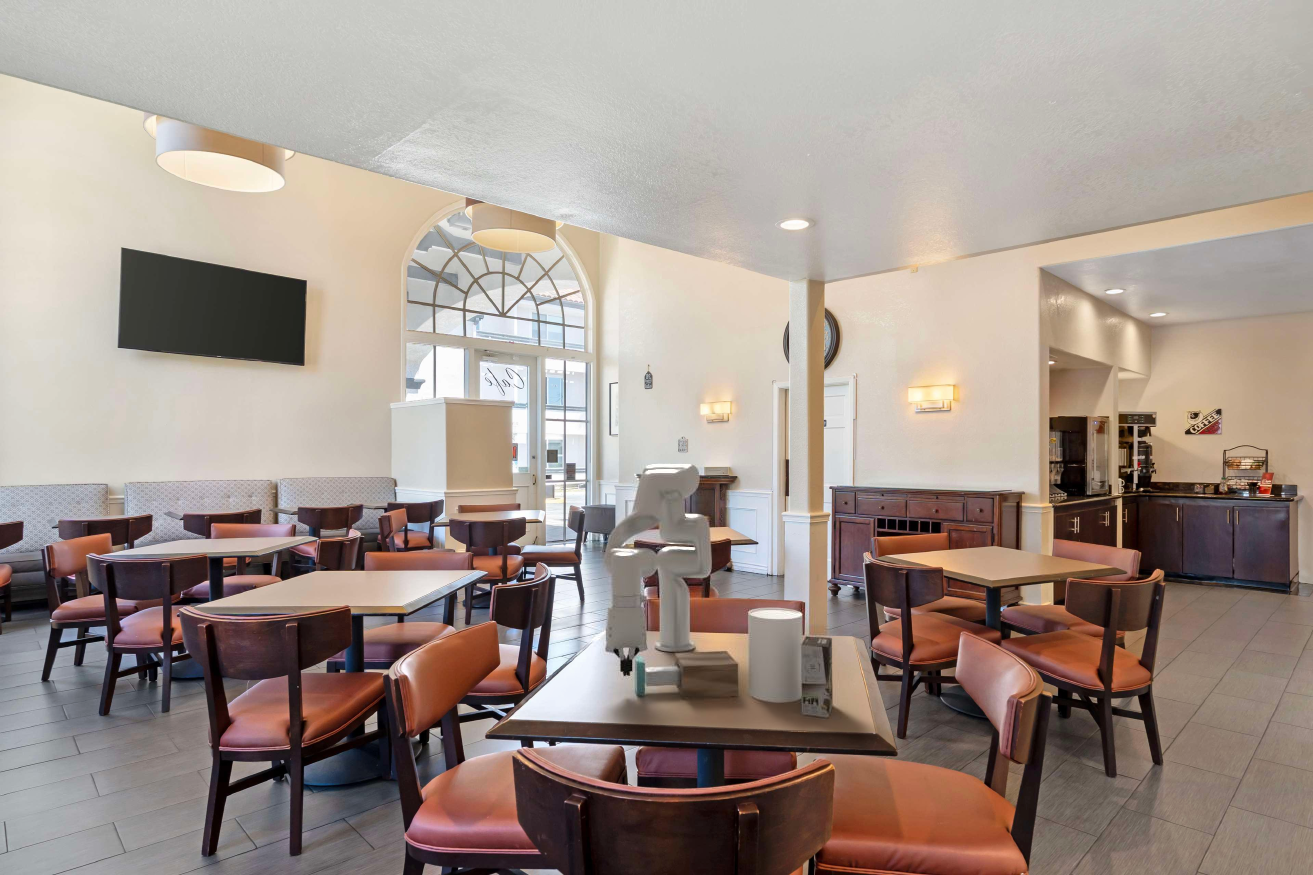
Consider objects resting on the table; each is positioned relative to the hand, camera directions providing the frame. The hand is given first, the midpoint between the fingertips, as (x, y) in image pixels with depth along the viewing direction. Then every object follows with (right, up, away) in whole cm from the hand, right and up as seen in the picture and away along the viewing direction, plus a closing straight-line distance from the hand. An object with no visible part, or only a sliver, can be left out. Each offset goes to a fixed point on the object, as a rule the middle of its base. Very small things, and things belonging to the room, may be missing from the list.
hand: (626, 674), depth 173 cm
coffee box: (+45, -5, -12) cm, 47 cm away
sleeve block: (+20, -5, +3) cm, 21 cm away
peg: (+9, -5, +1) cm, 10 cm away
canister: (+38, -5, 0) cm, 38 cm away
